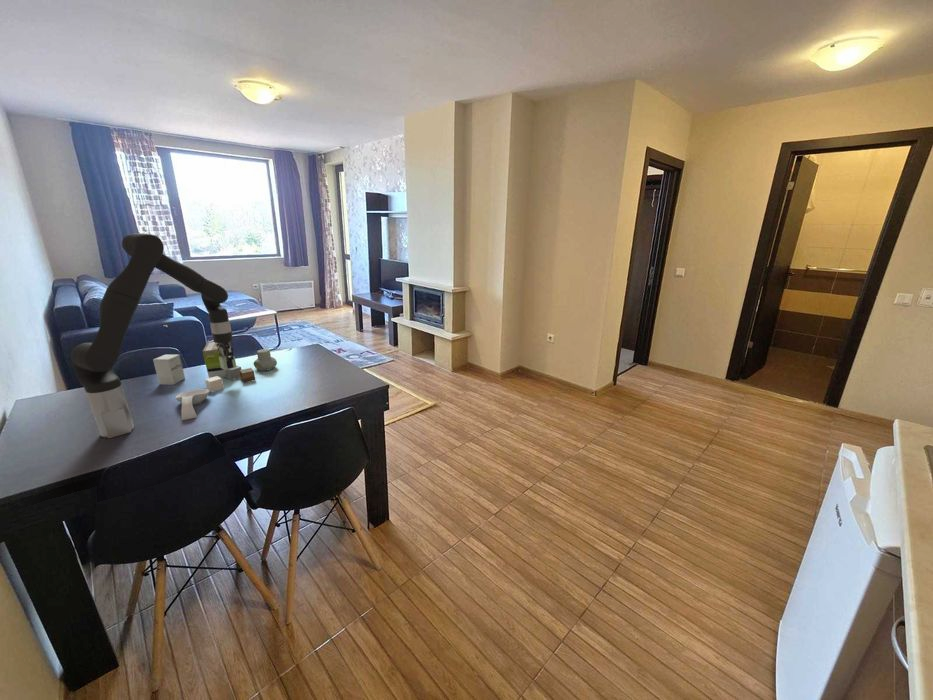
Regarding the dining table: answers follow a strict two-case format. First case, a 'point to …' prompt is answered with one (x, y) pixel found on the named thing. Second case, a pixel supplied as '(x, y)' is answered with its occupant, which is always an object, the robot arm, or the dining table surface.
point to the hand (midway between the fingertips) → (228, 366)
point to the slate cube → (233, 372)
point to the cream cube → (214, 383)
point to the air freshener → (264, 360)
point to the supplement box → (169, 369)
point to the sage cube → (224, 363)
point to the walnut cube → (247, 375)
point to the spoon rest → (191, 402)
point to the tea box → (213, 360)
